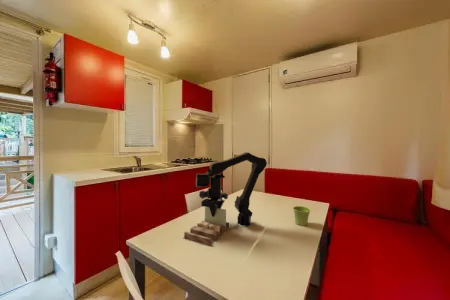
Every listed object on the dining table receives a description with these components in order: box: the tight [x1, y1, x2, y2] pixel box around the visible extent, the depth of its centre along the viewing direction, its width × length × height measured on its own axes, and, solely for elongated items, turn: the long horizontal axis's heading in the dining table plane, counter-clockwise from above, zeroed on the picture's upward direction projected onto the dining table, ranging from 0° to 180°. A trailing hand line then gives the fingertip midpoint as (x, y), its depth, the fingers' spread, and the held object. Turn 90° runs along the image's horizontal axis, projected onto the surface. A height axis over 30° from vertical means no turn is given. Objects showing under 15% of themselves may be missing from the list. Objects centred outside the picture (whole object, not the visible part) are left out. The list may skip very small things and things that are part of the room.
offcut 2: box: [209, 224, 220, 234], centre depth 92 cm, size 5×2×4 cm, turn 64°
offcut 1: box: [196, 220, 208, 229], centre depth 95 cm, size 5×2×4 cm, turn 64°
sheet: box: [204, 207, 227, 226], centre depth 99 cm, size 12×2×10 cm, turn 64°
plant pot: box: [292, 205, 312, 227], centre depth 107 cm, size 9×9×9 cm
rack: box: [182, 220, 231, 247], centre depth 93 cm, size 15×21×3 cm
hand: (215, 215), depth 99 cm, fingers open, 4 cm apart
